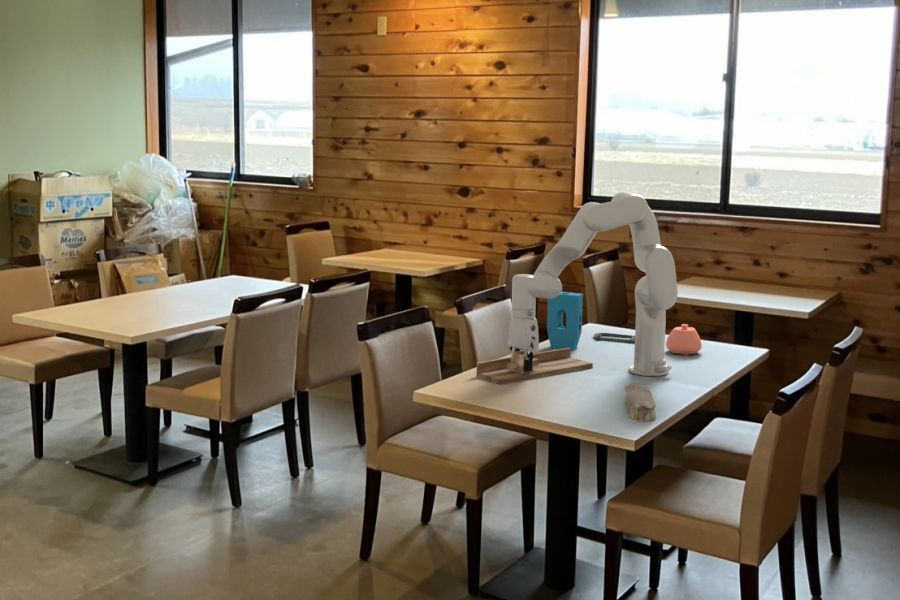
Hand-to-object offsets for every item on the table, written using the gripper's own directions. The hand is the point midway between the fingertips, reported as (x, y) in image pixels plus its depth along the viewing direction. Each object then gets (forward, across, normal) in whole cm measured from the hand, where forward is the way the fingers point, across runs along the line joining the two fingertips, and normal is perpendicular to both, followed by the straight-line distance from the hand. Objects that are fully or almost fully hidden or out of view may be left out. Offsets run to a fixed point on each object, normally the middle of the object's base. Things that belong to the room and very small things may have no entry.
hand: (522, 368), depth 312 cm
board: (+2, +2, -7) cm, 7 cm away
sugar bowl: (+3, -5, -70) cm, 70 cm away
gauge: (+1, 0, 0) cm, 1 cm away
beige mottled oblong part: (+3, -47, -4) cm, 48 cm away
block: (+3, +23, -38) cm, 44 cm away
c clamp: (+3, +22, -64) cm, 68 cm away
